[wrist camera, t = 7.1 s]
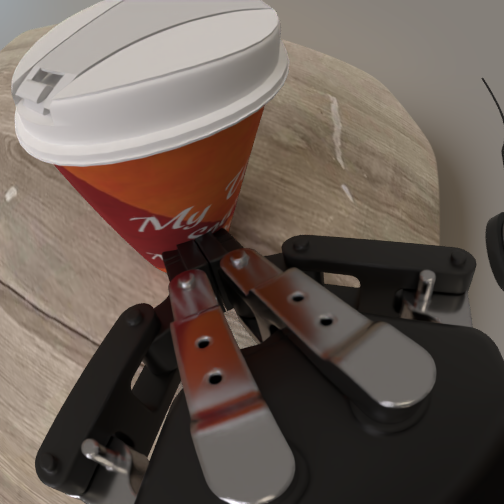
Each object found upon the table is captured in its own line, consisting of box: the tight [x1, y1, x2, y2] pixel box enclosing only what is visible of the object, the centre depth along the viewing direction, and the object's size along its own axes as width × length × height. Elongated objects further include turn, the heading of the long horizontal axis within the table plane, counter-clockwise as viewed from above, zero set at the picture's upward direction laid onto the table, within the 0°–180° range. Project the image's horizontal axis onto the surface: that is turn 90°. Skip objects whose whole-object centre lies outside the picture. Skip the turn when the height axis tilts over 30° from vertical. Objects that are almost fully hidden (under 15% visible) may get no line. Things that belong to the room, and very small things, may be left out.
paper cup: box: [12, 0, 289, 273], centre depth 11 cm, size 8×8×14 cm
